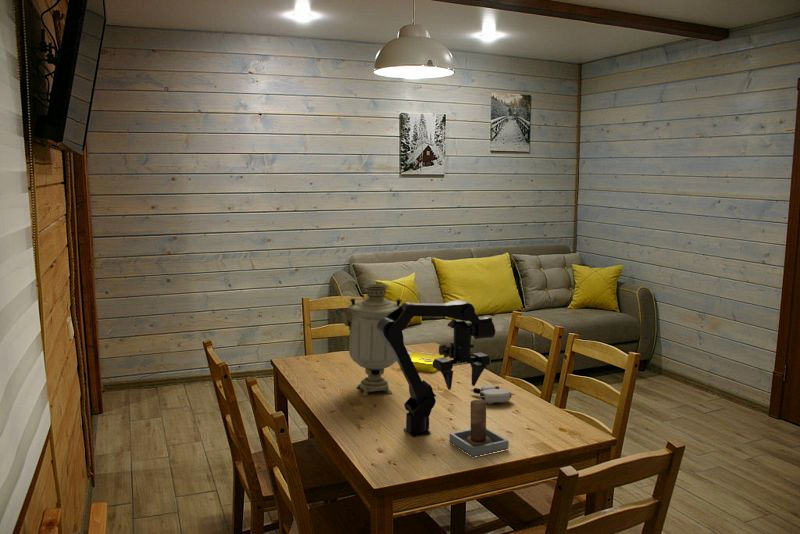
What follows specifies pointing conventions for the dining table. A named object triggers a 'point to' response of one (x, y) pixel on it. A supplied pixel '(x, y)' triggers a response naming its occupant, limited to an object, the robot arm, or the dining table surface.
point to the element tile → (424, 361)
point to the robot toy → (493, 394)
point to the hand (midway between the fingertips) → (461, 387)
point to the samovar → (370, 336)
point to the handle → (478, 424)
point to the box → (495, 445)
